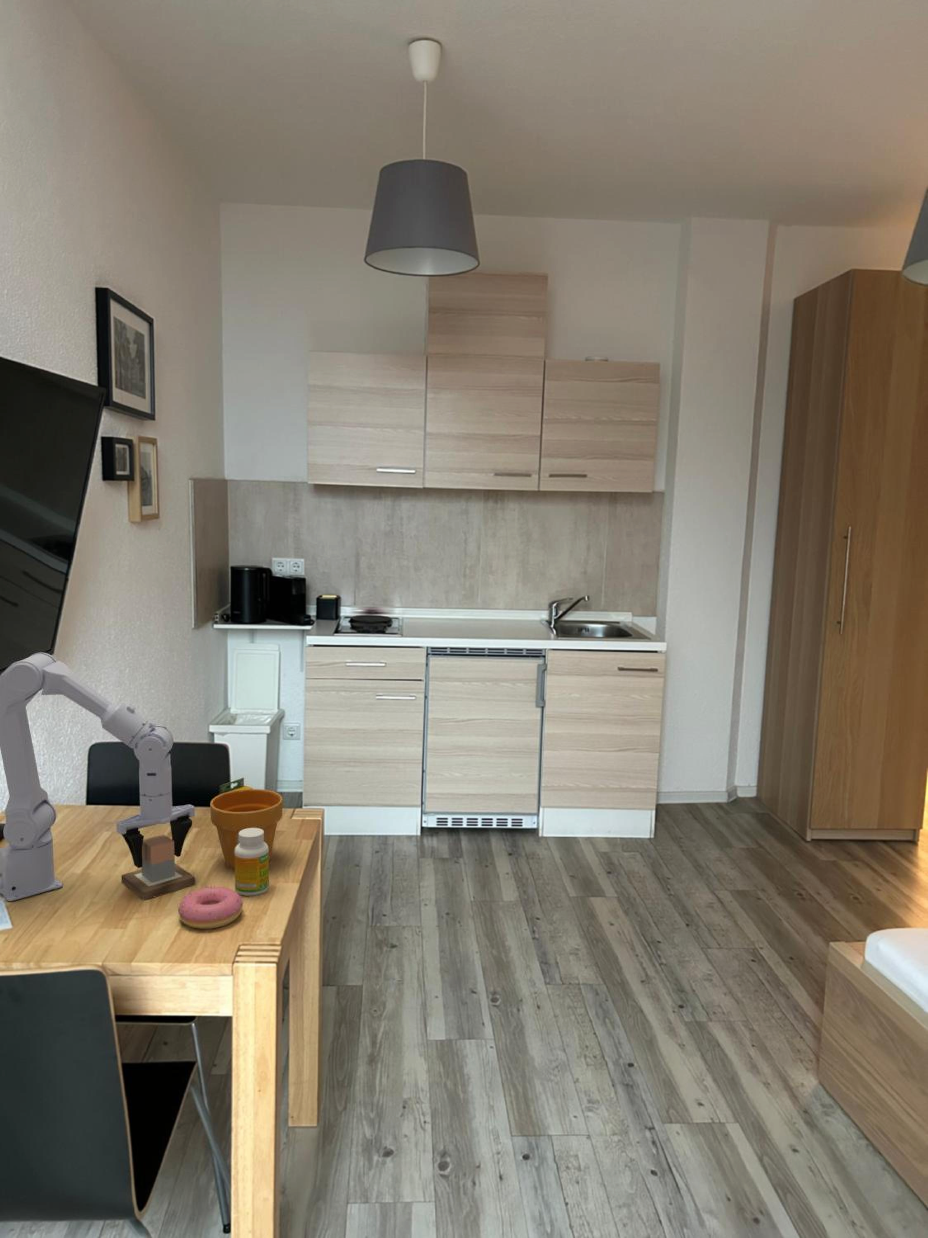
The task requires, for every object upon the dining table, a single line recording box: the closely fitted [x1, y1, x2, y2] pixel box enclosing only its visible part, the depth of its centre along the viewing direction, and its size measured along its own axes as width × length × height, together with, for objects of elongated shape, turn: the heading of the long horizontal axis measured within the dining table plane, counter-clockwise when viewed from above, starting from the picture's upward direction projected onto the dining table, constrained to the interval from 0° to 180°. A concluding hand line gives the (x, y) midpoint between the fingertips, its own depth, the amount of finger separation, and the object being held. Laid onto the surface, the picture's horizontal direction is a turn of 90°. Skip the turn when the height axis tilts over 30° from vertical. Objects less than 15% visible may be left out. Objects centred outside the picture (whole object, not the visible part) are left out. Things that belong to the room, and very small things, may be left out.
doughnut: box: [177, 885, 244, 930], centre depth 152 cm, size 11×11×4 cm
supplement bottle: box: [234, 828, 270, 897], centre depth 162 cm, size 6×6×11 cm
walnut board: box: [121, 863, 196, 901], centre depth 165 cm, size 10×10×2 cm
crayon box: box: [219, 777, 254, 795], centre depth 190 cm, size 7×3×12 cm, turn 148°
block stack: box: [141, 834, 176, 883], centre depth 164 cm, size 4×4×7 cm
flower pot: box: [209, 788, 284, 870], centre depth 175 cm, size 14×14×13 cm
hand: (157, 860), depth 164 cm, fingers open, 7 cm apart
